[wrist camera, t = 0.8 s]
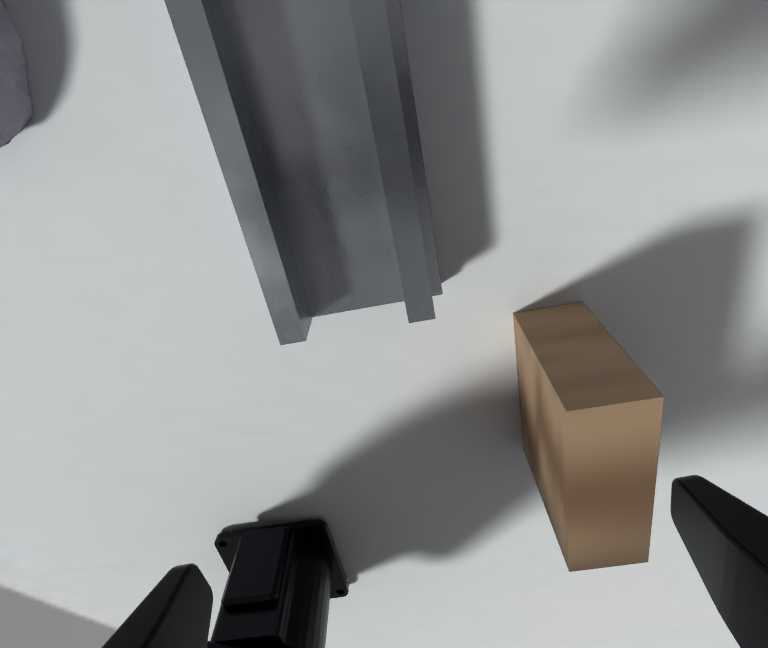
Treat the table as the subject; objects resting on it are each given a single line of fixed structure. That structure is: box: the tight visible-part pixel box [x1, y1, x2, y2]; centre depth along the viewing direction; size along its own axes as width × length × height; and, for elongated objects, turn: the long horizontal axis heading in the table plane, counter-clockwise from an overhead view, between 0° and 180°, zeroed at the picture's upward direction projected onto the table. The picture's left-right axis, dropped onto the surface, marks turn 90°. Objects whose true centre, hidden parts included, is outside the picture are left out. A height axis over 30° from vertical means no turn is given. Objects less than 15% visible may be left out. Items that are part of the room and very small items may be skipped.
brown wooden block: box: [513, 301, 664, 572], centre depth 20 cm, size 8×3×7 cm, turn 11°
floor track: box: [164, 0, 443, 345], centre depth 16 cm, size 14×7×5 cm, turn 11°
